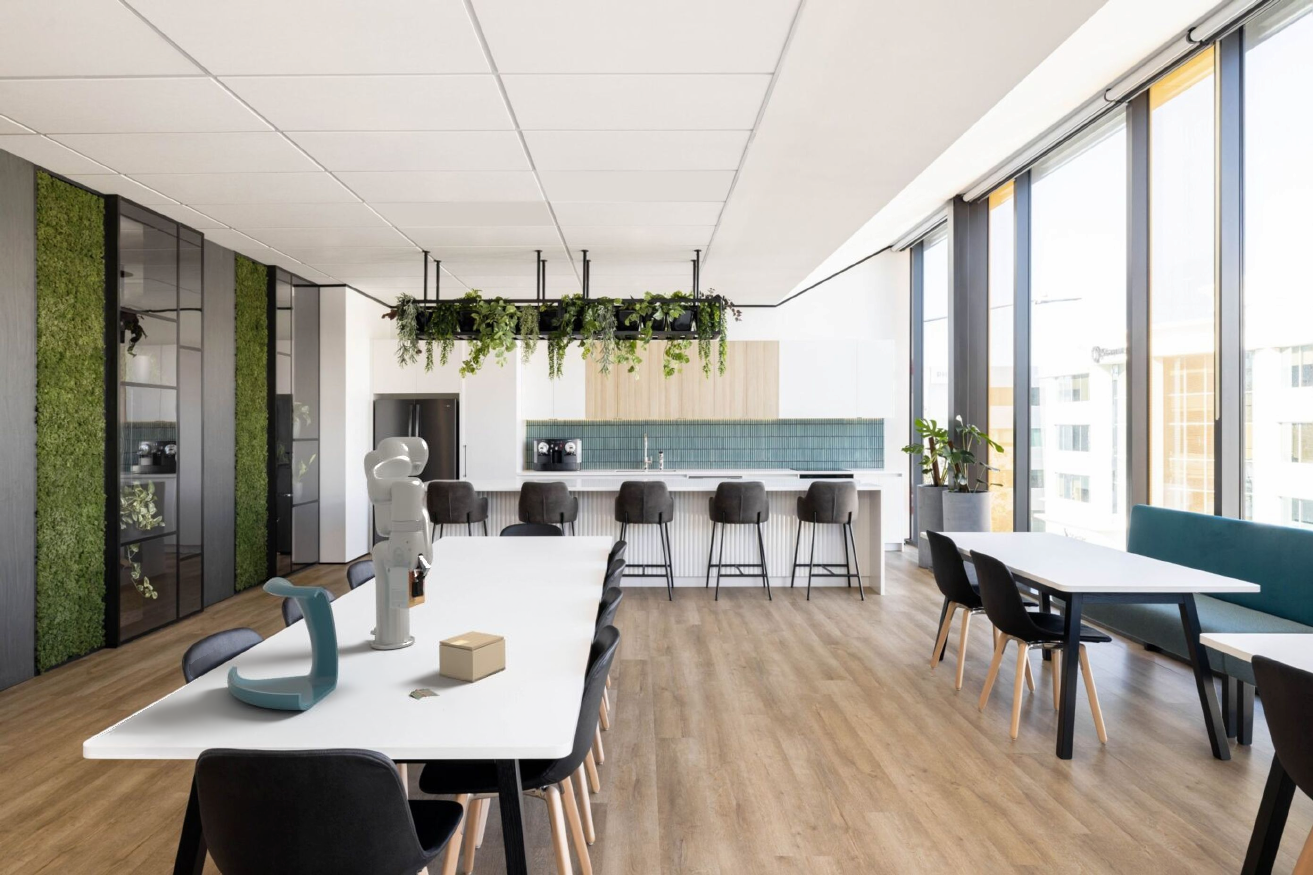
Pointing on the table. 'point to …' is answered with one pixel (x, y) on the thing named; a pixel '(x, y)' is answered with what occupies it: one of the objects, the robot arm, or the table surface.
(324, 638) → the headphone stand
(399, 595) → the small box
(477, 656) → the carton
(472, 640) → the lid
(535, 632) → the table surface
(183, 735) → the table surface
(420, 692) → the map
